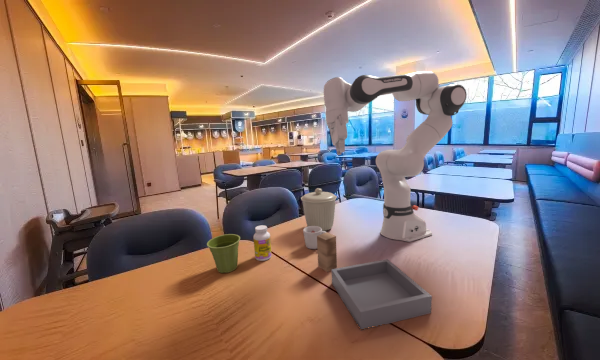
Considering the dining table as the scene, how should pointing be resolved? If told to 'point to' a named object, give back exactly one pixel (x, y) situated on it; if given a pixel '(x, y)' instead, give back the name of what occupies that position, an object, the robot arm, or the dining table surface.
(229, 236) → the plant pot
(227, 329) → the dining table surface
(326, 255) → the walnut block
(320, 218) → the canister
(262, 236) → the supplement bottle
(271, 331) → the dining table surface
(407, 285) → the bin
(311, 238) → the cup
